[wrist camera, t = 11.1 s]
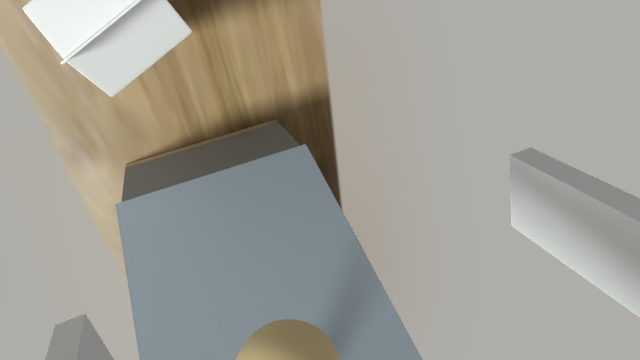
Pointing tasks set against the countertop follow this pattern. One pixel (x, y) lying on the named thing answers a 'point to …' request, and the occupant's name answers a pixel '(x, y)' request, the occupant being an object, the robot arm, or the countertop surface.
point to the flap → (254, 270)
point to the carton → (205, 158)
